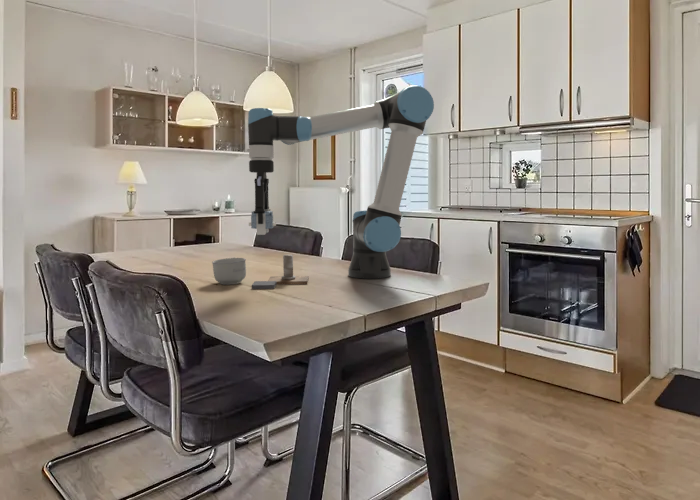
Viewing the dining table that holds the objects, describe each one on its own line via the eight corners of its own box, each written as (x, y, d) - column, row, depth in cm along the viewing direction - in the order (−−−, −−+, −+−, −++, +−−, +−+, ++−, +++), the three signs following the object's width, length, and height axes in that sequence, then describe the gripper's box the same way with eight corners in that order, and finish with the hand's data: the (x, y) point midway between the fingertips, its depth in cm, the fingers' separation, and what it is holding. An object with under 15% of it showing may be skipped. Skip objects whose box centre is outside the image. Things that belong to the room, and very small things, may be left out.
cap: (276, 227, 172) (276, 209, 171) (274, 228, 166) (274, 210, 165) (250, 227, 172) (250, 209, 171) (247, 228, 165) (247, 210, 165)
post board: (308, 279, 185) (308, 253, 184) (307, 284, 175) (306, 257, 174) (270, 279, 184) (270, 253, 183) (267, 284, 175) (266, 257, 174)
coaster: (276, 284, 175) (276, 281, 175) (274, 288, 168) (274, 285, 168) (255, 284, 174) (254, 281, 174) (251, 289, 168) (251, 285, 167)
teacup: (238, 286, 171) (237, 262, 170) (207, 285, 173) (206, 261, 172) (254, 279, 185) (254, 256, 184) (225, 278, 187) (224, 255, 186)
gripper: (253, 161, 176) (255, 230, 179) (243, 158, 156) (245, 236, 159) (276, 161, 176) (277, 230, 179) (269, 158, 157) (271, 236, 159)
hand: (262, 233), depth 169 cm, fingers closed on cap, 7 cm apart
